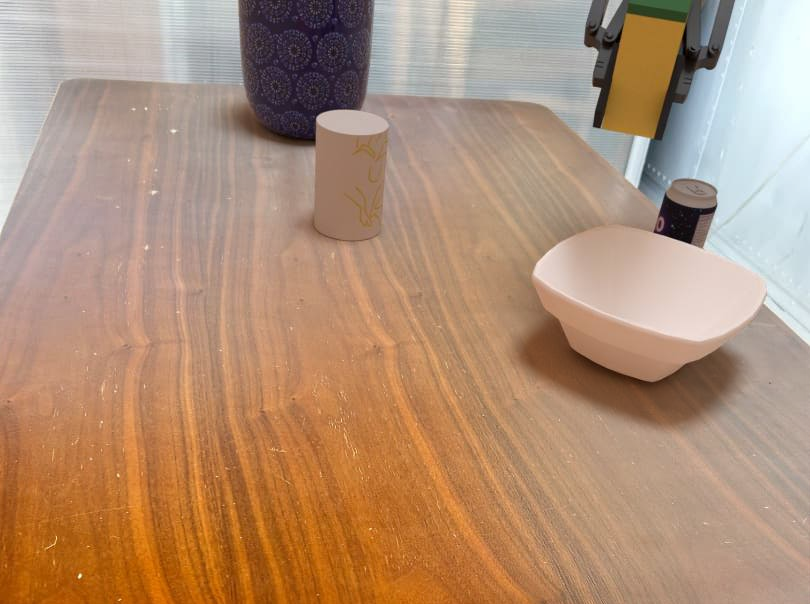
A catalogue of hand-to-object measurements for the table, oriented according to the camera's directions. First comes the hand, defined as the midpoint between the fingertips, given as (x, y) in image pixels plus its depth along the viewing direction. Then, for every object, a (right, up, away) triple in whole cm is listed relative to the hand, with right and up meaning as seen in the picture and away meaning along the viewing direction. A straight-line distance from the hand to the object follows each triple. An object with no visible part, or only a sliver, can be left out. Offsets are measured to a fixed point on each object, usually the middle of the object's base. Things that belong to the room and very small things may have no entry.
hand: (628, 125), depth 80 cm
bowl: (+3, -19, +11) cm, 22 cm away
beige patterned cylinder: (-27, 0, +27) cm, 39 cm away
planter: (-35, +24, +51) cm, 66 cm away
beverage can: (+9, -9, +22) cm, 26 cm away
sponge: (+2, +3, +4) cm, 6 cm away
